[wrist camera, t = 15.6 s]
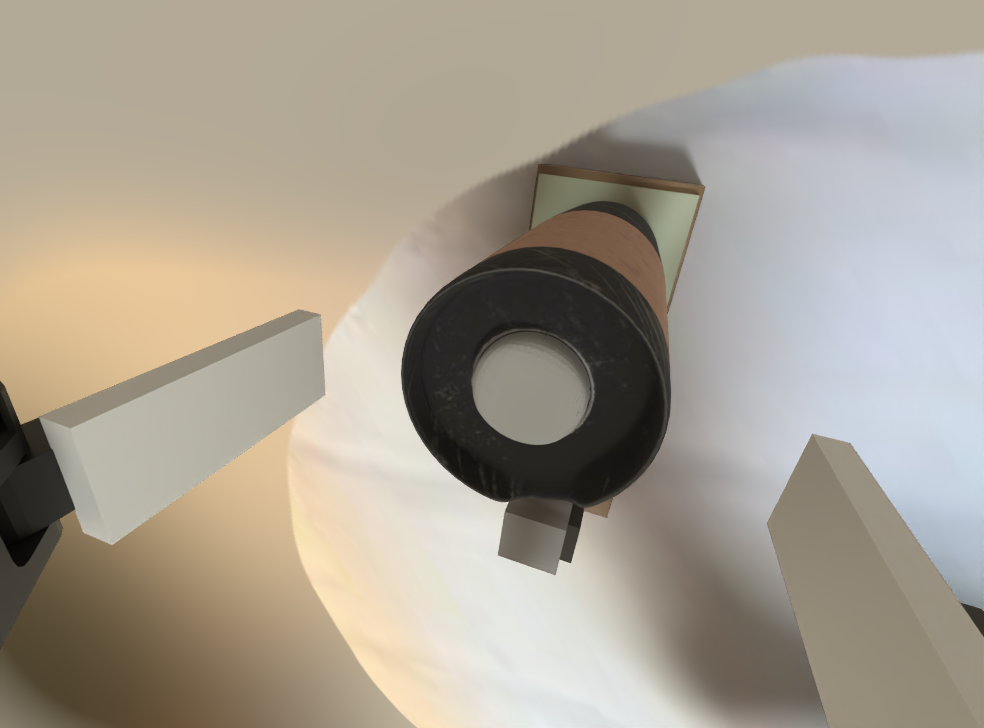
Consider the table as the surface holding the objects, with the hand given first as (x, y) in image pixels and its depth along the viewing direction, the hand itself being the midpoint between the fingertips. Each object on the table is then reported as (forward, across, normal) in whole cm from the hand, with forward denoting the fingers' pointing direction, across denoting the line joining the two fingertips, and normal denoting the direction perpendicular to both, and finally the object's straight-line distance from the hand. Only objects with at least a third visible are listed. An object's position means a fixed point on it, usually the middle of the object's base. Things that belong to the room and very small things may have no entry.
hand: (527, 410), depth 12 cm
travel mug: (+20, 0, 0) cm, 20 cm away
